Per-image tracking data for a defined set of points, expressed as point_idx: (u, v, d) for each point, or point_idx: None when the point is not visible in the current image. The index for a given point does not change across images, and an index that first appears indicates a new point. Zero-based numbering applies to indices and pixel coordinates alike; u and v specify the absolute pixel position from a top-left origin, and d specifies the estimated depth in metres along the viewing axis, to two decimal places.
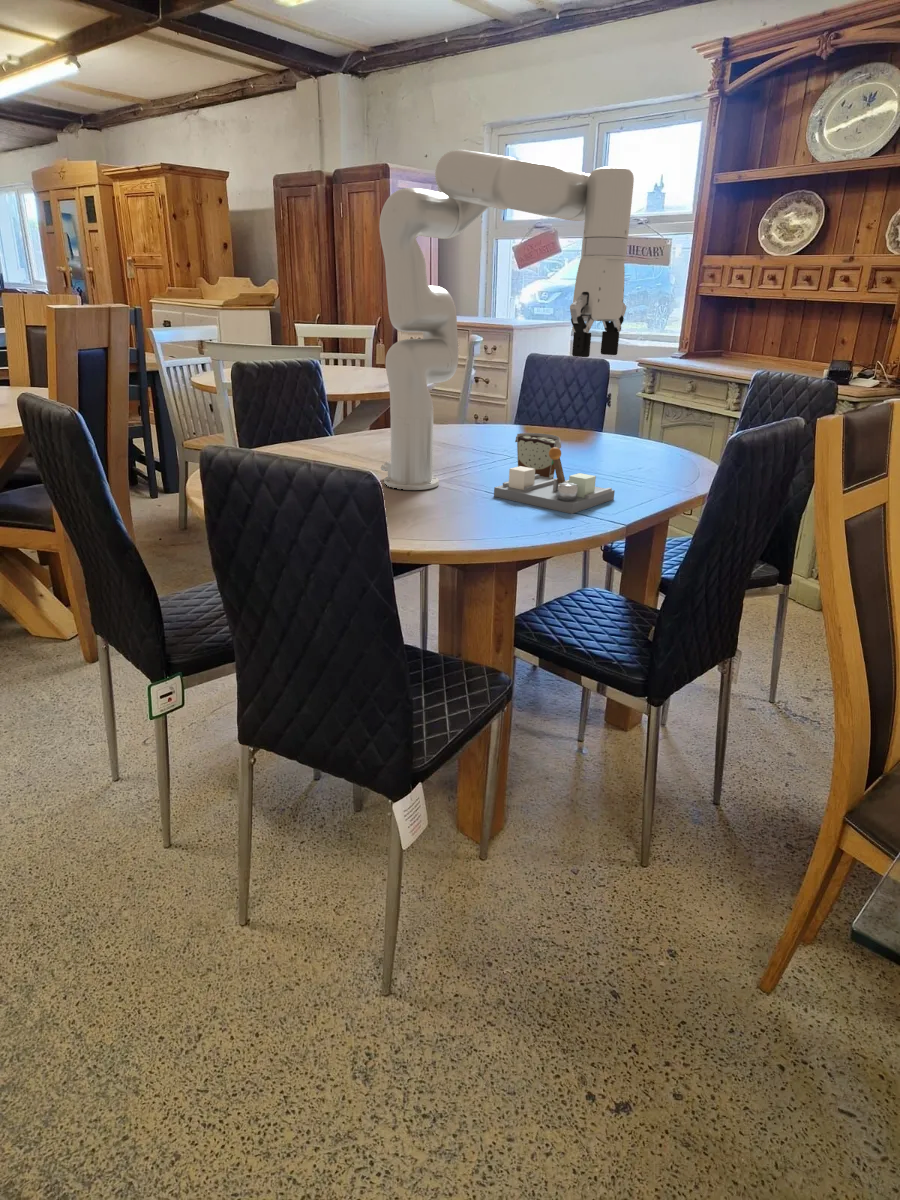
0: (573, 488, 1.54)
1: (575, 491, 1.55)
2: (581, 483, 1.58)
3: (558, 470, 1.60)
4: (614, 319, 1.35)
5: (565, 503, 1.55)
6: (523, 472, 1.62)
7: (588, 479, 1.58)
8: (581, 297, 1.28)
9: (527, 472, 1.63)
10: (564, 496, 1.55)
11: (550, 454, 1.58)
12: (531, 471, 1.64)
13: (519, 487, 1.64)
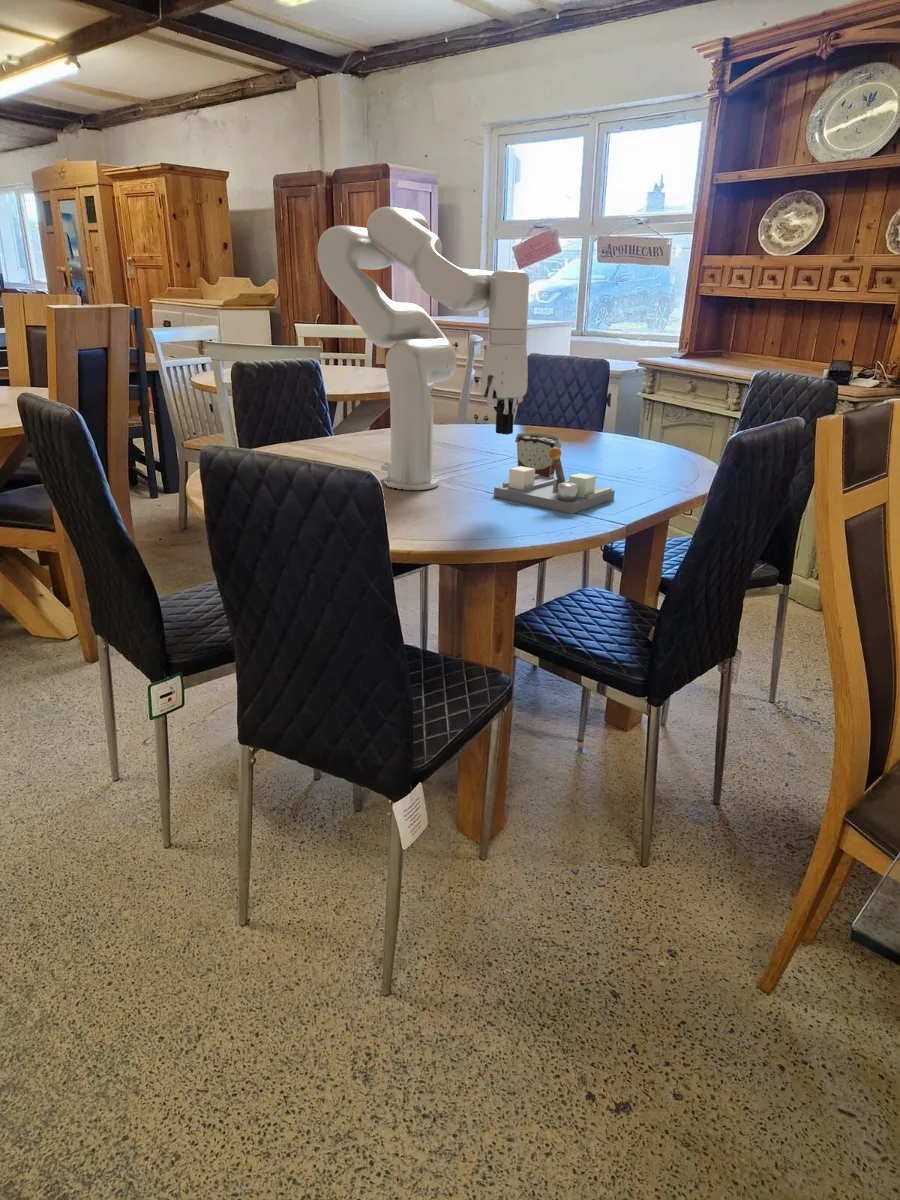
0: (573, 488, 1.54)
1: (575, 491, 1.55)
2: (581, 483, 1.58)
3: (558, 470, 1.60)
4: (520, 396, 1.54)
5: (565, 503, 1.55)
6: (523, 472, 1.62)
7: (588, 479, 1.58)
8: (491, 388, 1.49)
9: (527, 472, 1.63)
10: (564, 496, 1.55)
11: (550, 454, 1.58)
12: (531, 471, 1.64)
13: (519, 487, 1.64)
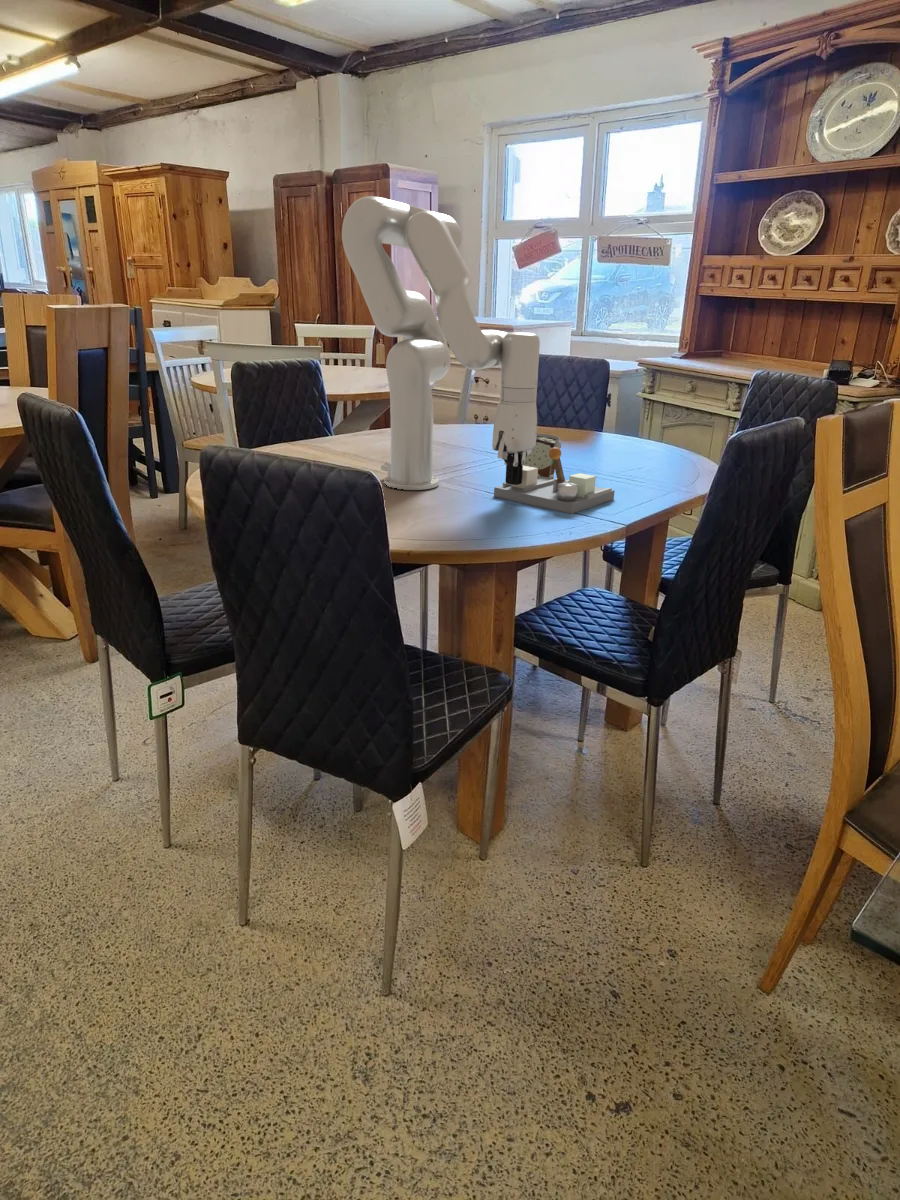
0: (573, 488, 1.54)
1: (575, 491, 1.55)
2: (581, 483, 1.58)
3: (558, 470, 1.60)
4: (529, 448, 1.61)
5: (565, 503, 1.55)
6: (526, 471, 1.63)
7: (588, 479, 1.58)
8: (502, 443, 1.57)
9: (530, 471, 1.64)
10: (564, 496, 1.55)
11: (550, 454, 1.58)
12: (534, 470, 1.65)
13: (522, 486, 1.65)
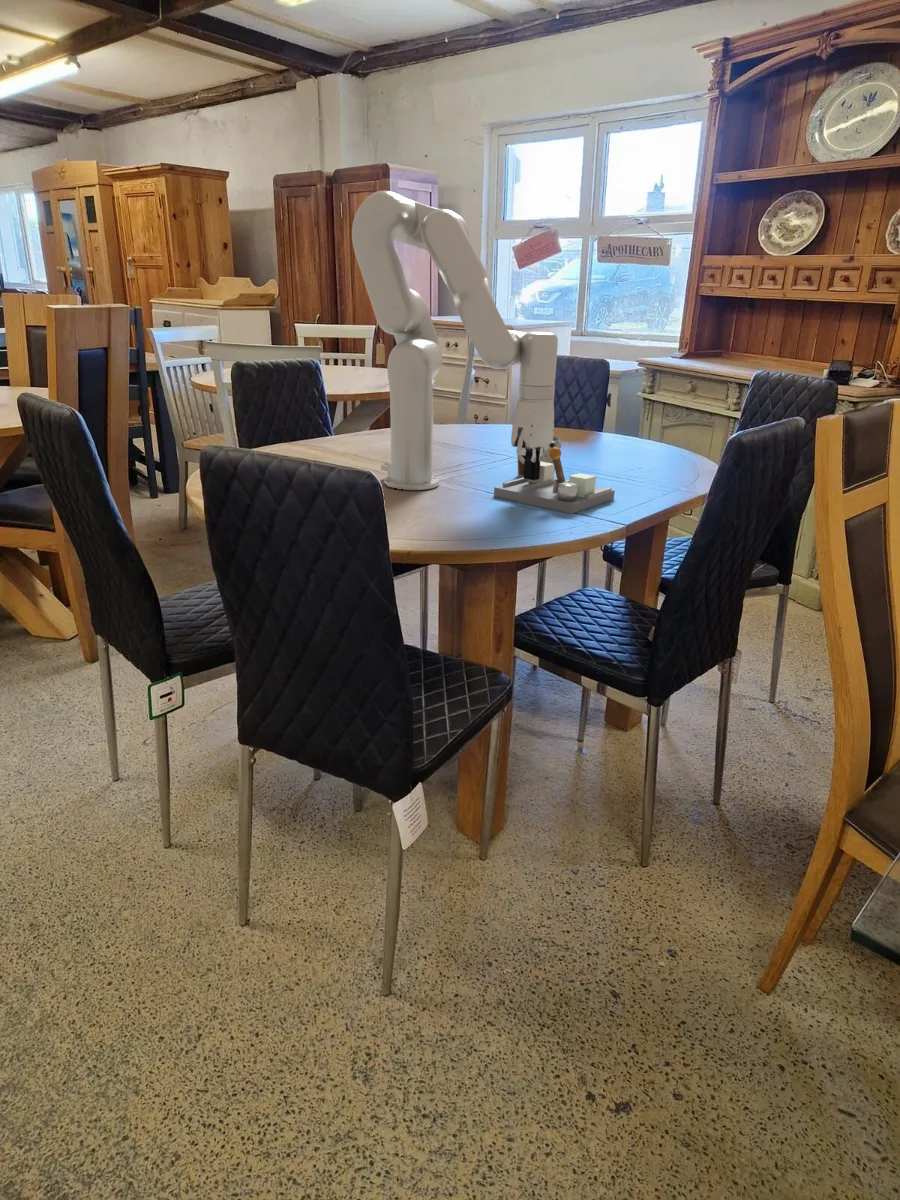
0: (573, 488, 1.54)
1: (575, 491, 1.55)
2: (581, 483, 1.58)
3: (558, 470, 1.60)
4: (546, 445, 1.66)
5: (565, 503, 1.55)
6: (543, 467, 1.68)
7: (588, 479, 1.58)
8: (520, 439, 1.61)
9: (547, 467, 1.68)
10: (564, 496, 1.55)
11: (550, 454, 1.58)
12: (551, 466, 1.70)
13: (539, 481, 1.70)
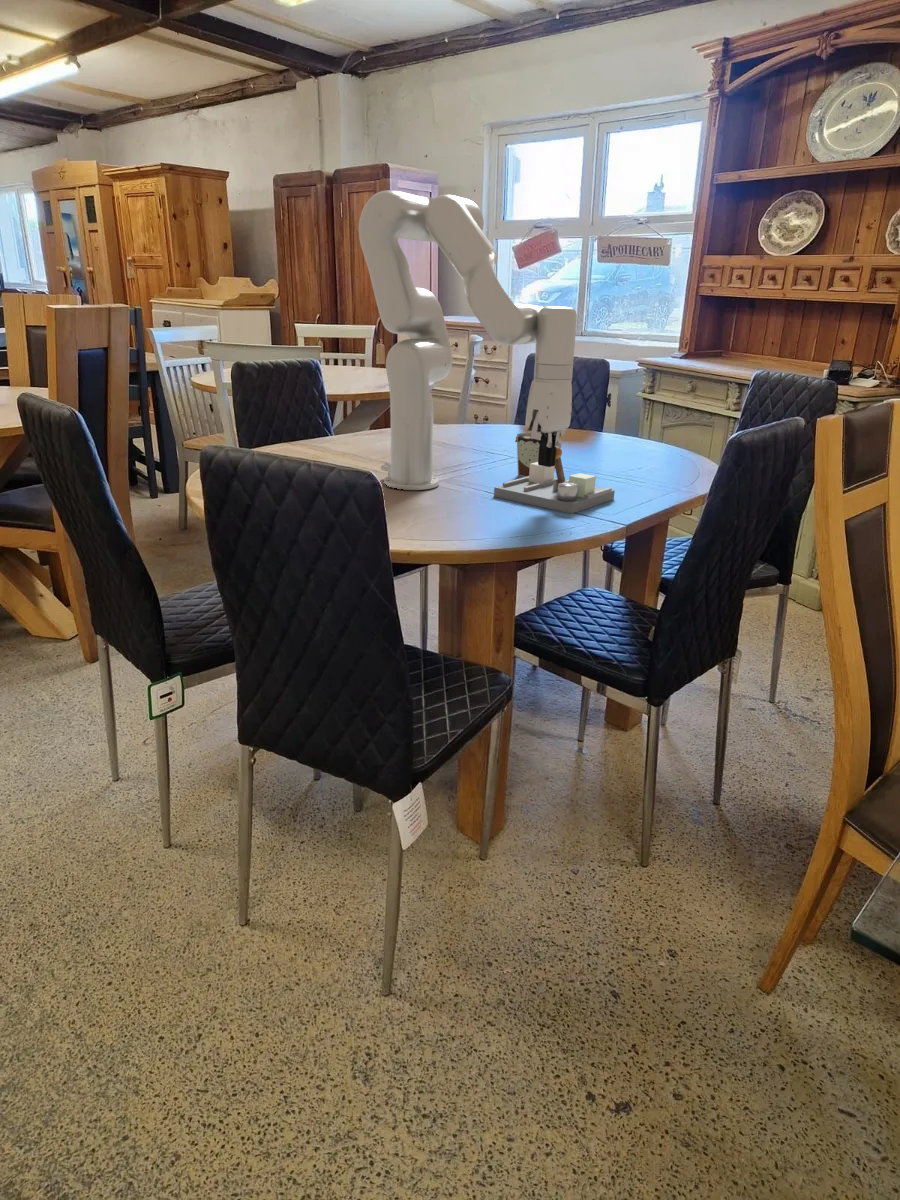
0: (573, 488, 1.54)
1: (575, 491, 1.55)
2: (581, 483, 1.58)
3: (559, 470, 1.61)
4: (563, 429, 1.55)
5: (565, 503, 1.55)
6: (543, 467, 1.68)
7: (588, 479, 1.58)
8: (535, 422, 1.50)
9: (547, 467, 1.68)
10: (564, 496, 1.55)
11: None
12: (551, 466, 1.70)
13: (539, 481, 1.70)
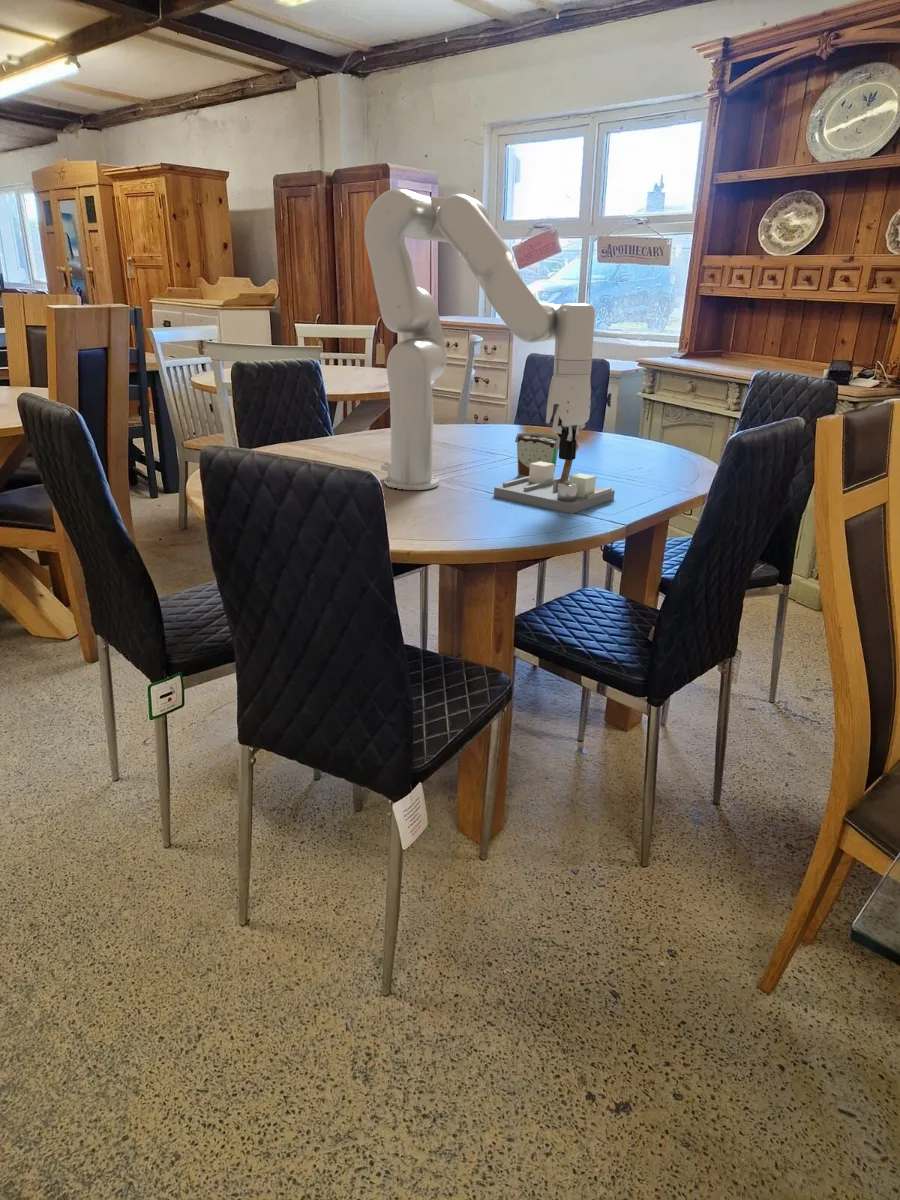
0: (573, 488, 1.54)
1: (575, 491, 1.55)
2: (581, 483, 1.58)
3: (567, 464, 1.63)
4: (583, 423, 1.59)
5: (565, 503, 1.55)
6: (543, 467, 1.68)
7: (588, 479, 1.58)
8: (556, 417, 1.54)
9: (547, 467, 1.68)
10: (564, 496, 1.55)
11: None
12: (551, 466, 1.70)
13: (539, 481, 1.70)
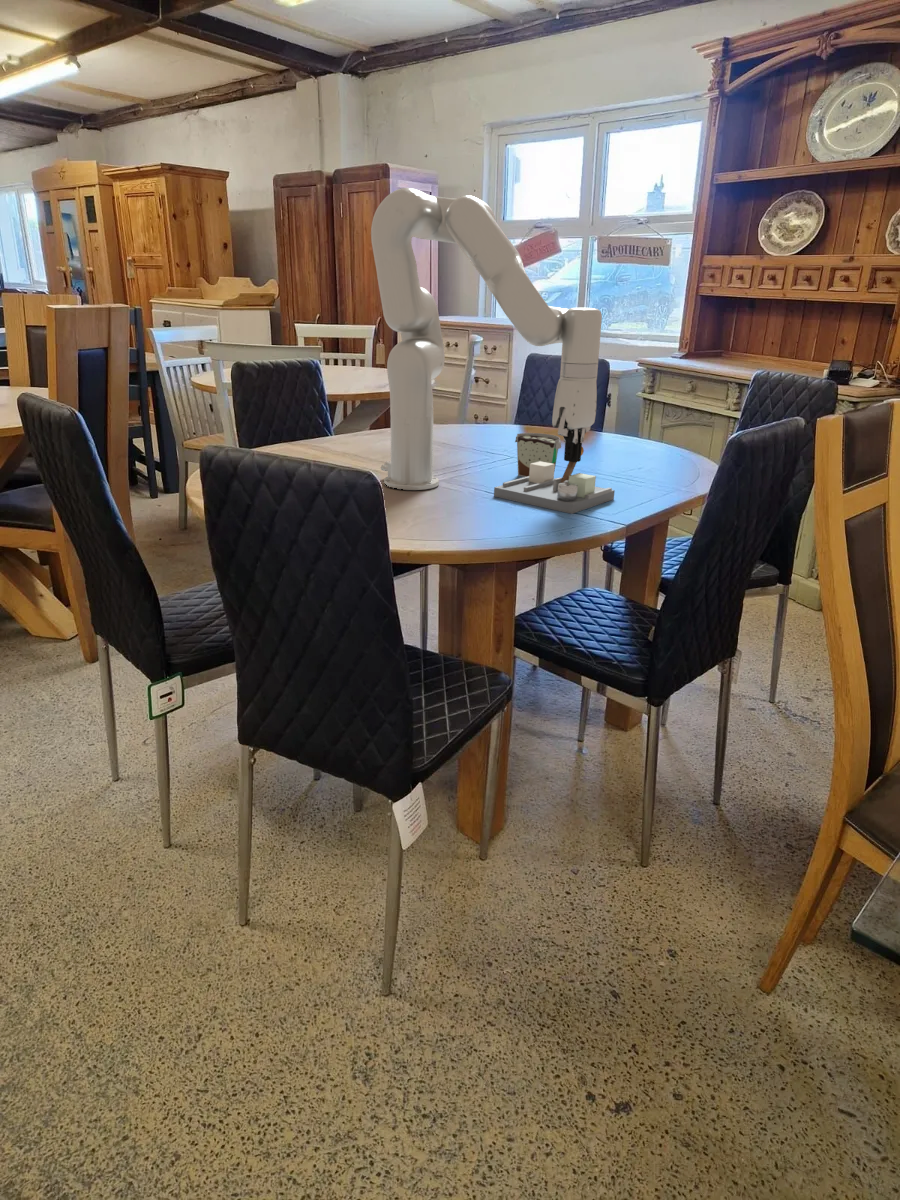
0: (573, 488, 1.54)
1: (575, 491, 1.55)
2: (581, 483, 1.58)
3: (571, 466, 1.64)
4: (588, 425, 1.61)
5: (565, 503, 1.55)
6: (543, 467, 1.68)
7: (588, 479, 1.58)
8: (562, 419, 1.56)
9: (547, 467, 1.68)
10: (564, 496, 1.55)
11: None
12: (551, 466, 1.70)
13: (539, 481, 1.70)
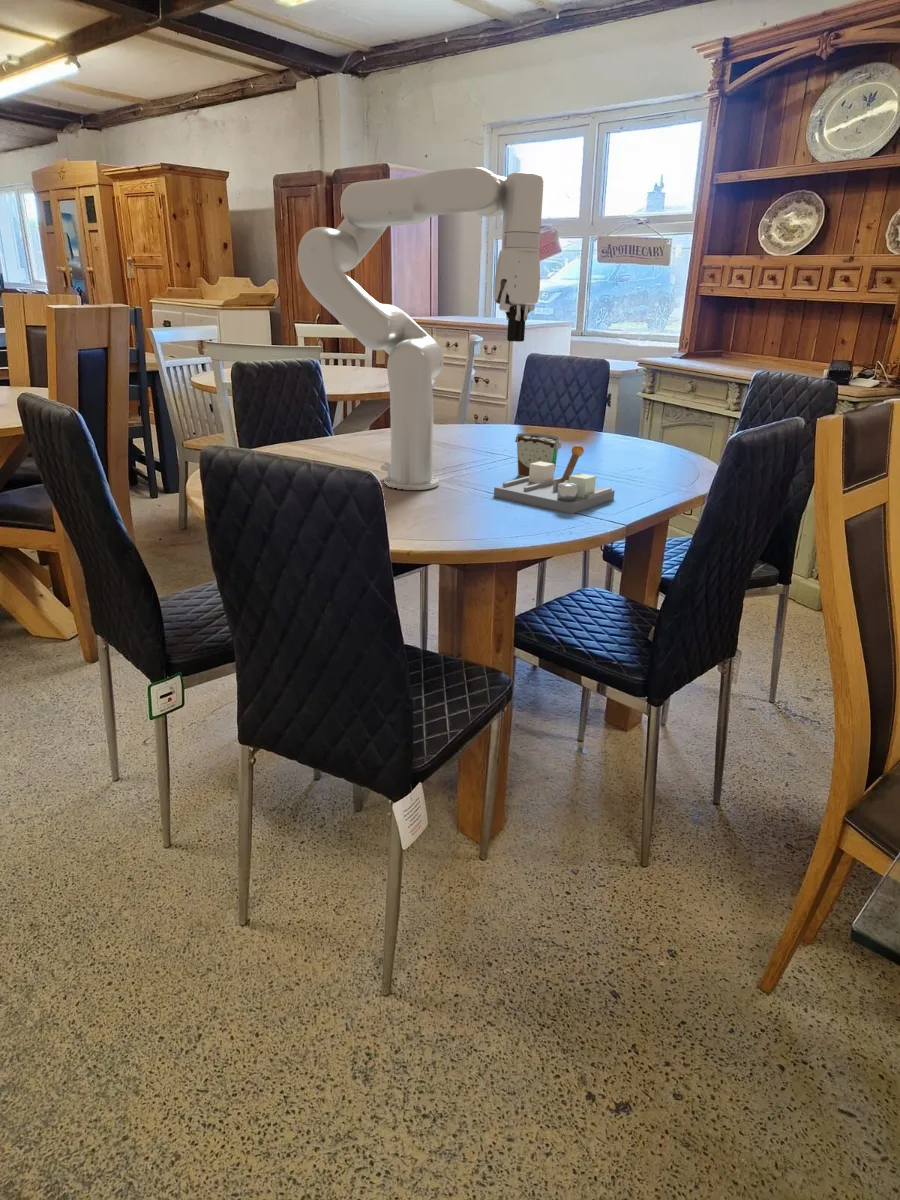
0: (573, 488, 1.54)
1: (575, 491, 1.55)
2: (581, 483, 1.58)
3: (571, 466, 1.64)
4: (531, 303, 1.56)
5: (565, 503, 1.55)
6: (543, 467, 1.68)
7: (588, 479, 1.58)
8: (504, 293, 1.51)
9: (547, 467, 1.68)
10: (564, 496, 1.55)
11: (575, 446, 1.64)
12: (551, 466, 1.70)
13: (539, 481, 1.70)
